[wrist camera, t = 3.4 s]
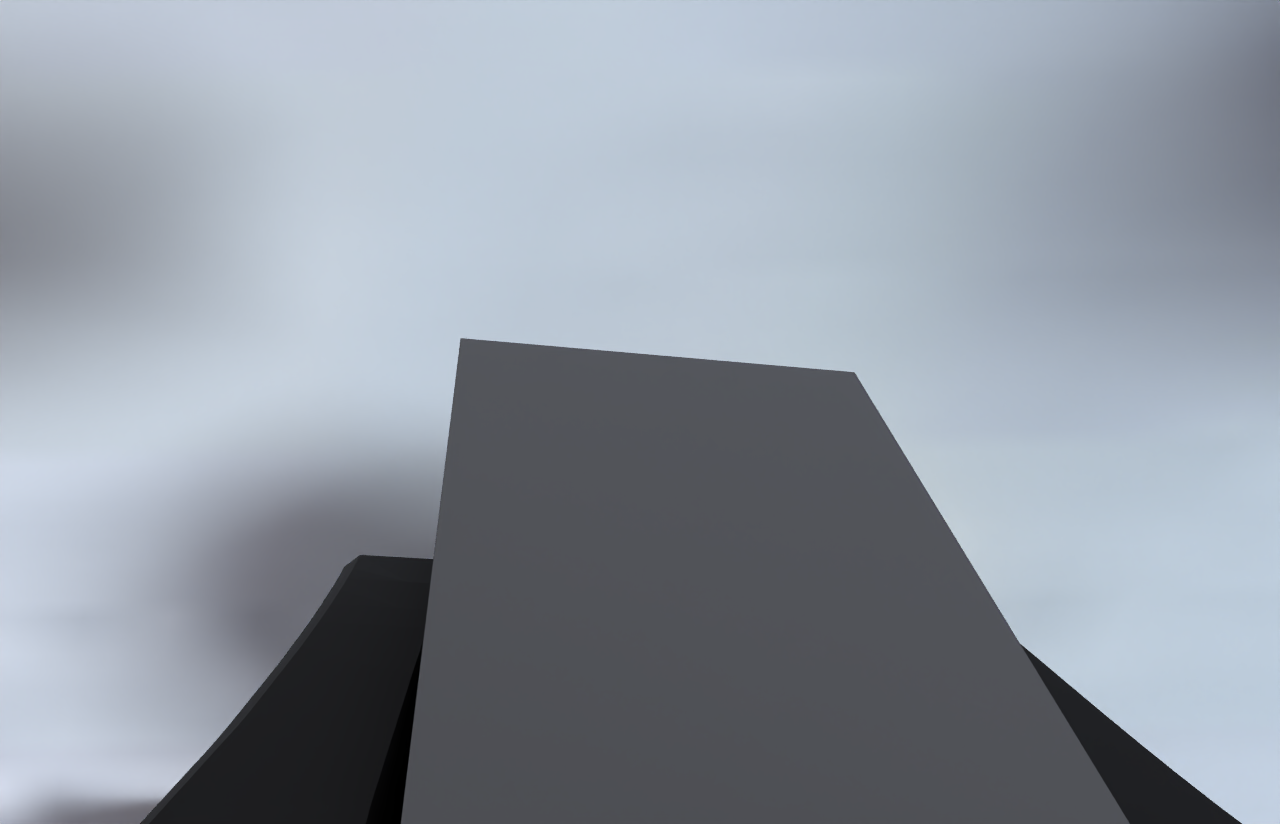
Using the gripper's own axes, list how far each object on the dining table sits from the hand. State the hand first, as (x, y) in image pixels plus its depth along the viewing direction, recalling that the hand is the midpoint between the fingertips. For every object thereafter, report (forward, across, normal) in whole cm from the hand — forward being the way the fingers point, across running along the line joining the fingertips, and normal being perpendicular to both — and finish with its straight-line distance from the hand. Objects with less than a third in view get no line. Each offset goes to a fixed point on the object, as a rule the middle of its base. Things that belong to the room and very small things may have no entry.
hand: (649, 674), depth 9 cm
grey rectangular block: (+2, 0, 0) cm, 2 cm away
